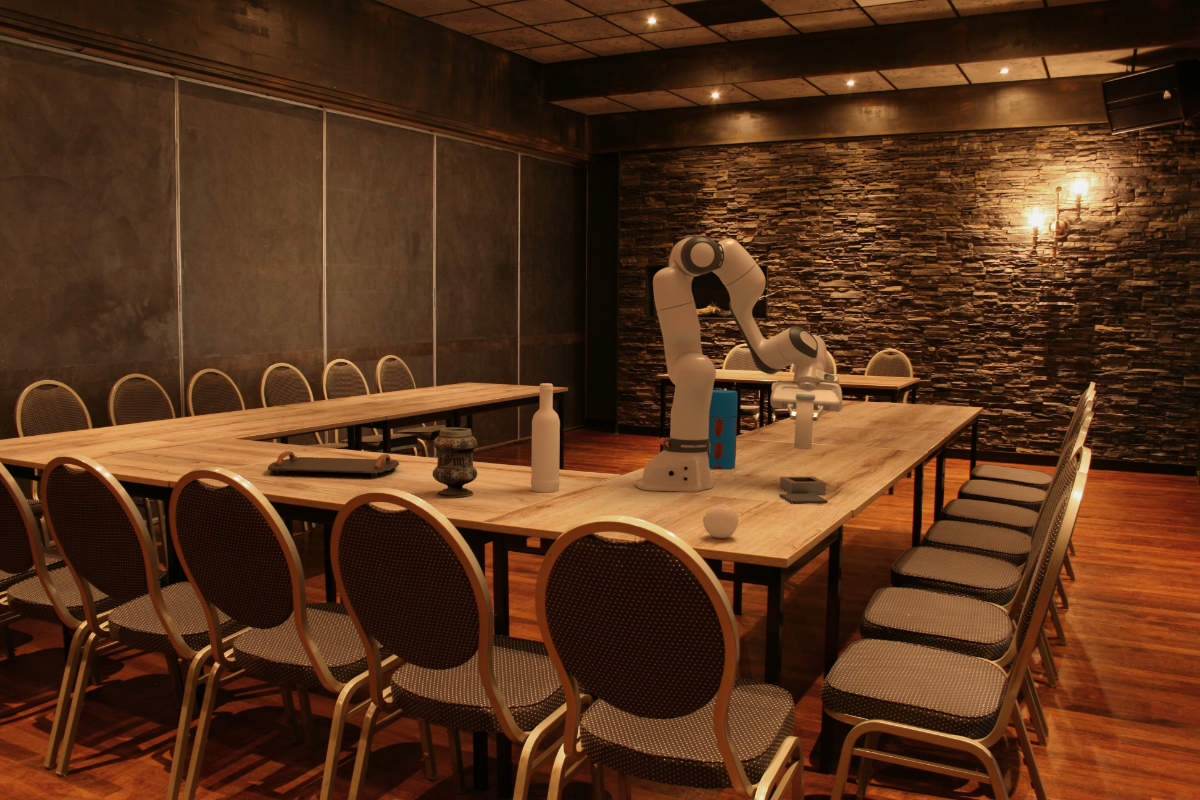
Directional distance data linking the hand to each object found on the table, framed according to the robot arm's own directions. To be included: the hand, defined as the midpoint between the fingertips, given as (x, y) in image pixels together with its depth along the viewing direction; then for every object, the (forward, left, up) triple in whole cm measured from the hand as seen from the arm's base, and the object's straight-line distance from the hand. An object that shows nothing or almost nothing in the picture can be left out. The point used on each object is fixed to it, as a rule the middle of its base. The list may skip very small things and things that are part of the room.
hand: (804, 419), depth 275 cm
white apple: (-38, -53, -21) cm, 69 cm away
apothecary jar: (-98, +2, -21) cm, 100 cm away
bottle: (-73, +7, -21) cm, 76 cm away
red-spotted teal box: (-13, +45, -21) cm, 51 cm away
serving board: (-135, +41, -22) cm, 142 cm away
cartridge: (0, +1, -8) cm, 8 cm away
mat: (-4, -11, -21) cm, 24 cm away
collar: (0, +1, -21) cm, 21 cm away
